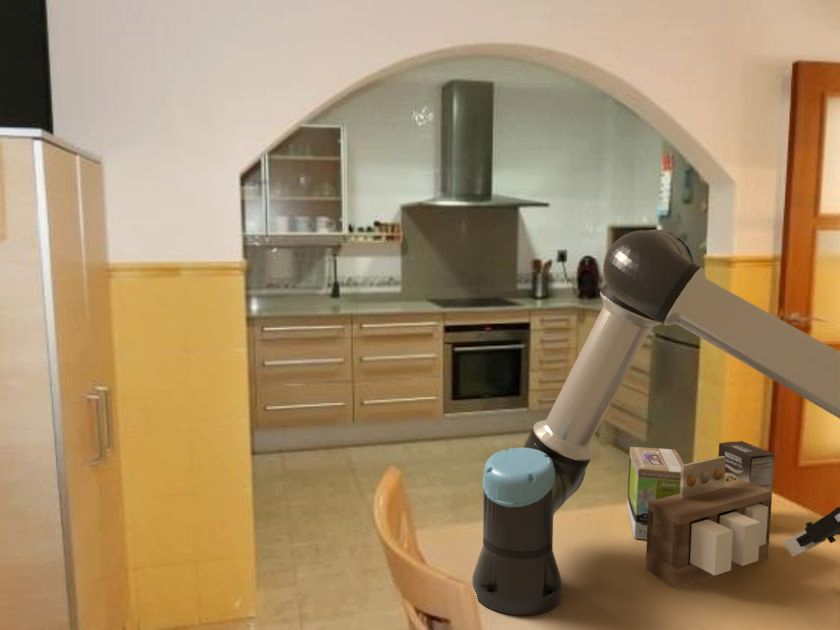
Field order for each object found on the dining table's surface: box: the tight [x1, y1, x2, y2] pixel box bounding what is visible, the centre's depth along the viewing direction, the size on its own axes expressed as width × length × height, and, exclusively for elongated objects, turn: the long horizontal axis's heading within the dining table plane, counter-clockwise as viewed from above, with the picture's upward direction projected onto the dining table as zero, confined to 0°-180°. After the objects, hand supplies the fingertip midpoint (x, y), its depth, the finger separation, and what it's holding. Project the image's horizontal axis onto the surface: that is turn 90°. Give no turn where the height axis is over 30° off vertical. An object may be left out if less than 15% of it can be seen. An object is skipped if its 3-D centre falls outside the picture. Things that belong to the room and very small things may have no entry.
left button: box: [690, 519, 733, 577], centre depth 114 cm, size 5×4×7 cm
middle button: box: [719, 512, 760, 567], centre depth 117 cm, size 5×4×7 cm
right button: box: [729, 503, 768, 546], centre depth 123 cm, size 5×4×7 cm
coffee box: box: [717, 440, 776, 492], centre depth 140 cm, size 9×6×16 cm
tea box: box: [626, 446, 686, 541], centre depth 139 cm, size 15×10×15 cm, turn 169°
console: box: [645, 456, 773, 589], centre depth 122 cm, size 7×24×19 cm, turn 117°
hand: (790, 548), depth 116 cm, fingers closed
